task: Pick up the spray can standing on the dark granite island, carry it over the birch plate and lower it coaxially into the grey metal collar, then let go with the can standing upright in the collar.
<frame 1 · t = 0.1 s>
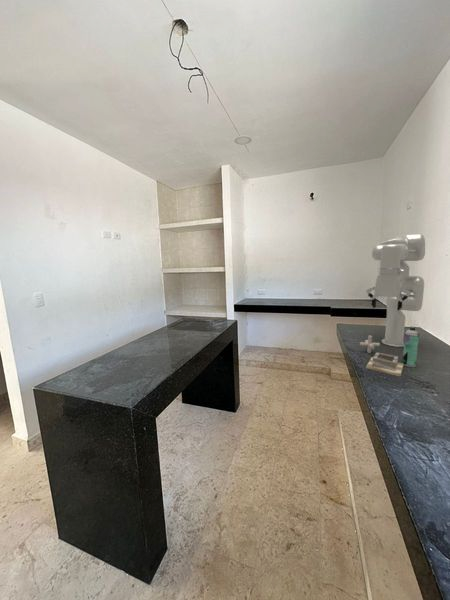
hand: (386, 308, 114), 31 cm above the counter, fingers open, 9 cm apart
spray can: (408, 365, 124), on the counter
pipe connector: (369, 352, 141), on the counter
collar block: (384, 367, 123), on the counter
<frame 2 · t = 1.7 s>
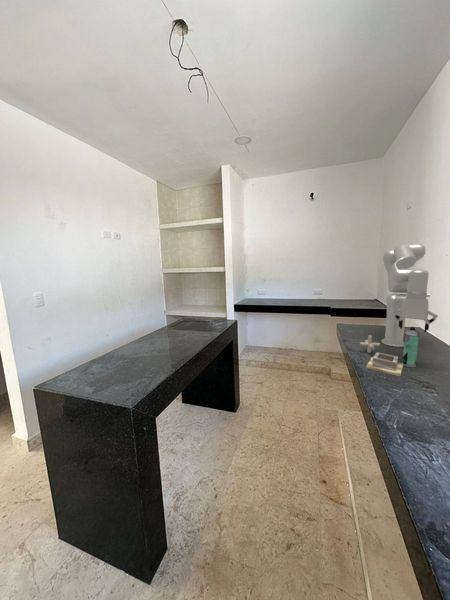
hand: (412, 329, 120), 19 cm above the counter, fingers open, 9 cm apart
nothing on the counter moved.
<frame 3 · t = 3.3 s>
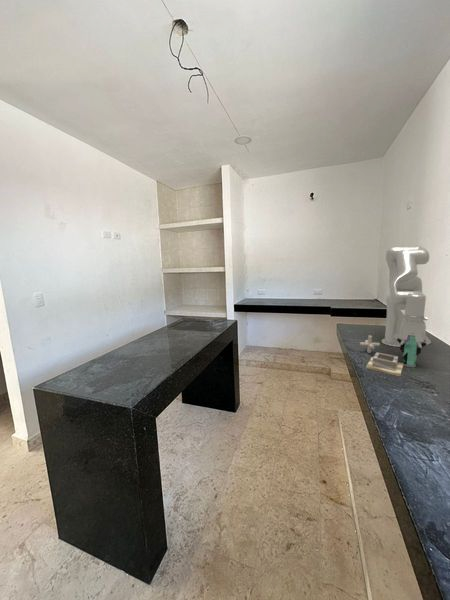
hand: (410, 352, 123), 7 cm above the counter, fingers closed on spray can, 5 cm apart
spray can: (408, 365, 124), on the counter, touching gripper
everything else where it was.
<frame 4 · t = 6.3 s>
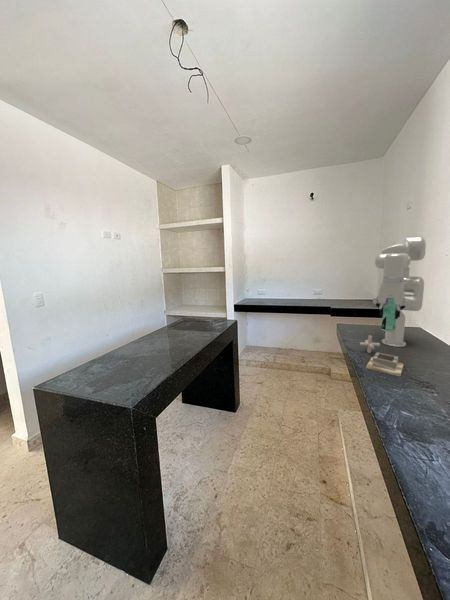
hand: (389, 317, 118), 26 cm above the counter, fingers closed on spray can, 5 cm apart
spray can: (387, 330, 119), point 19 cm above the counter, touching gripper
everything else where it was.
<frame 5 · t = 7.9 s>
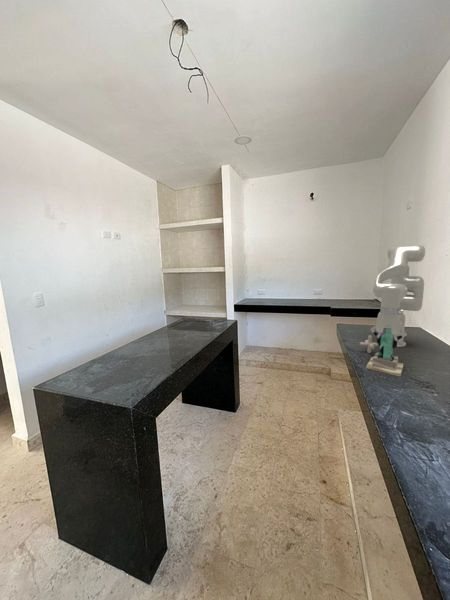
hand: (386, 346, 120), 11 cm above the counter, fingers closed on spray can, 5 cm apart
spray can: (385, 358, 122), point 5 cm above the counter, touching gripper
everything else where it was.
when the fingers open (8 cm above the counter, at t = 9.1 s): spray can stays where it is, resting on collar block.
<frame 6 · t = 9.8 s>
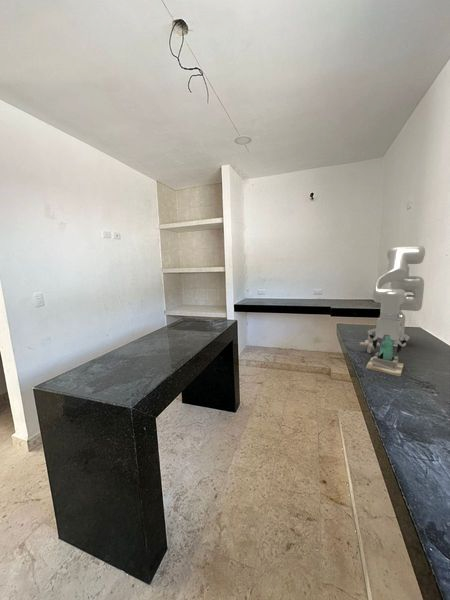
hand: (386, 349, 121), 9 cm above the counter, fingers open, 9 cm apart
spray can: (385, 365, 122), point 1 cm above the counter, touching collar block
everything else where it was.
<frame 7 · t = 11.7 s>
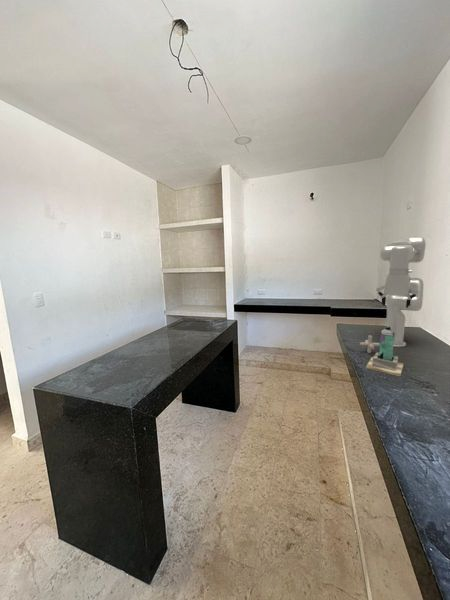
hand: (395, 306, 122), 30 cm above the counter, fingers open, 9 cm apart
nothing on the counter moved.
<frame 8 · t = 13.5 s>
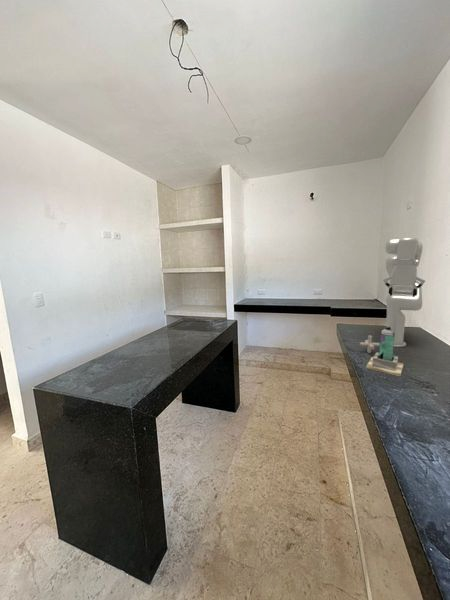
hand: (402, 296, 126), 34 cm above the counter, fingers open, 9 cm apart
nothing on the counter moved.
at the end: spray can 0.1 cm from the collar block (horizontally); spray can tilted 0°; spray can point 1.0 cm above the counter; the gripper is holding nothing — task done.
